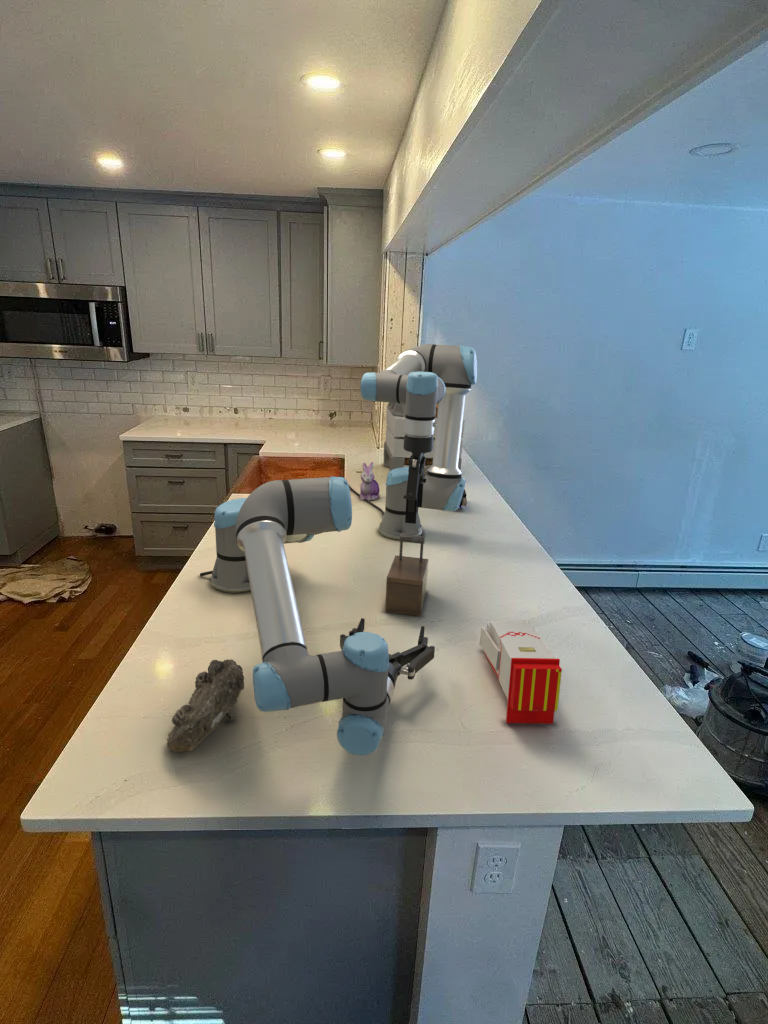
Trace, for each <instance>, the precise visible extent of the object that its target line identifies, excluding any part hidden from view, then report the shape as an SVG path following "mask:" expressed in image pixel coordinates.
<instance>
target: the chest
mask: <svg viewBox="0 0 768 1024" xmlns="http://www.w3.org/2000/svg"><path fill="white" fill-rule="evenodd" d="M428 568H429V565H428V566H427V570H426V574H425V578H424V582H423V586H418V585H410V584H401V583H393V582H387V581H386V586H385V604H384V605H385V607H384V612H386V613H393V614H400V615H408V616H409V615H410V616H418V617H421V615H422V611H423V608H424V607H423V606H424V602H425V598H426V594H427V593H426V592H427V584H428Z"/></svg>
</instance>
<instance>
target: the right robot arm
mask: <svg viewBox="0 0 768 1024" xmlns="http://www.w3.org/2000/svg"><path fill="white" fill-rule="evenodd" d="M477 381H478V359H477V352H476V350H475V348H474V347H471V346H466V345H465V346H464V345H455V344H454V345H451V344H434V343H427V344H419V345H417V346H413V347H411V348H408V349H406V350H404V351H403V352H401V353H400V354H399V355H398V356H397V358H396V359H395V361H394V362H393V363H391V364H390V365H389V366H387V367H386V368H384V369H383V370H381V371H380V372H375V371H373V372H365V373H363V375H362V377H361V380H360V396H361V398H362V399H363V401H370V402H373V403H376V402H377V403H378V402H379V403H401V404H406V414H405V424H404V433H405V434H406V435H405V436H404V446H403V448H404V450H406V451H408V452H411V453H412V456H410V458H409V466H404V467H401V468H396V469H393V470H391V471H390V470H389V472H388V473H387V475H386V482H385V504H384V505H385V507H384V508H385V509H384V510H383V509H382V508H380V507H379V506H378V505H376V504H374V503H373V502H371V500H369V501H368V500H367V499H364V500H363V501H365V502H366V503H368V504H369V505H371V506H373V507H374V508H375V509H377V510H378V511H380V513H381V514H382V519H381V522H379V527H378V533H379V534H380V535H381V536H382V537H385V538H387V539H389V540H395V541H399V539H400V534H404V535H414V536H422V535H423V525H422V524H421V518H420V515H419V508H422V509H428V510H436V511H442V512H456V511H457V510H458V509H460V507H459V505H460V502H461V499H462V496H463V492H464V489H466V478H464V477H463V476H462V475H463V474H462V470H461V471H460V470H459V468H458V461H459V452H460V442H461V440H462V438H461V433H462V423H463V419H464V412H465V403H466V395H467V394H468V393H469V392H470V391H471V390H472V386H474V385H476V384H477ZM436 404H438V412H437V423H434V421H435V410H436ZM434 427H436V433H435V443H434V454H433V464H432V465H430V466H429V467H428V468H427V471H426V473H425V467H426V466H425V461H426V457H425V453H428V452H431V451H432V450H433V440H434V438H433V436H432V435H433V434H434ZM339 477H343V475H342V474H340V475H339ZM349 489H350V491H352V492H353V493H354V494H355V495H356V496H357V497H359V498H360V494H361V493H358V492H357V491H356V490H354V489H353V487H351V486H350V485H349Z"/></svg>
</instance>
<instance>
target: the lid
mask: <svg viewBox="0 0 768 1024" xmlns="http://www.w3.org/2000/svg"><path fill="white" fill-rule="evenodd" d="M425 537H426V536H422V535H421V536H414V535H404V534H400V539H399V540H398V541H399V555H394V558H393V560H392V563H391V565H390V568H389V571H388V574H387V576H386V583H387V582H393V583H401V584H410V585H418V586H423V582H424V578H425V574H426V570H427V566H428V567H429V558H423V556H424V544H425V539H426V538H425ZM404 543H412V544H420V549H419V557H414V556H412V557H411V556H404V555H403V548H404Z"/></svg>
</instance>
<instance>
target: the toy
mask: <svg viewBox="0 0 768 1024" xmlns="http://www.w3.org/2000/svg"><path fill="white" fill-rule="evenodd" d="M478 642H479V643H478V644H479V646H480V647H481V650H482V651H483V654H484V655H485V657H486V659H487V661H488V663H489V664H490V666H491V669H492V670H493V672H494V674H495V676H496V678H497V679H498V682H499V684H500V687H501V688H502V691H503V693H504V695H505V697H506V699H507V706H506V717H505V722H506V724H547V725H549V724H551V725H553V724H554V718H555V712H558V711H559V710H558V709H559V698H560V689H561V682H562V681H561V680H562V672H563V671H562V667H561V666H560V663H561V659H560V658H554V656H553V654H552V653H551V651H550V650H549V649H548V647H547V646H546V644H545V643H544V642H543V640H542V638H540V636H539V635H538V633H537V631H536V630H535V627H534V626H532V625H531V623H530V622H529V620H528V621H527V620H526V621H525V620H524V621H523V620H490V621H489V622H487V623H486V628H485V626H480V634H479V641H478Z"/></svg>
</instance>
